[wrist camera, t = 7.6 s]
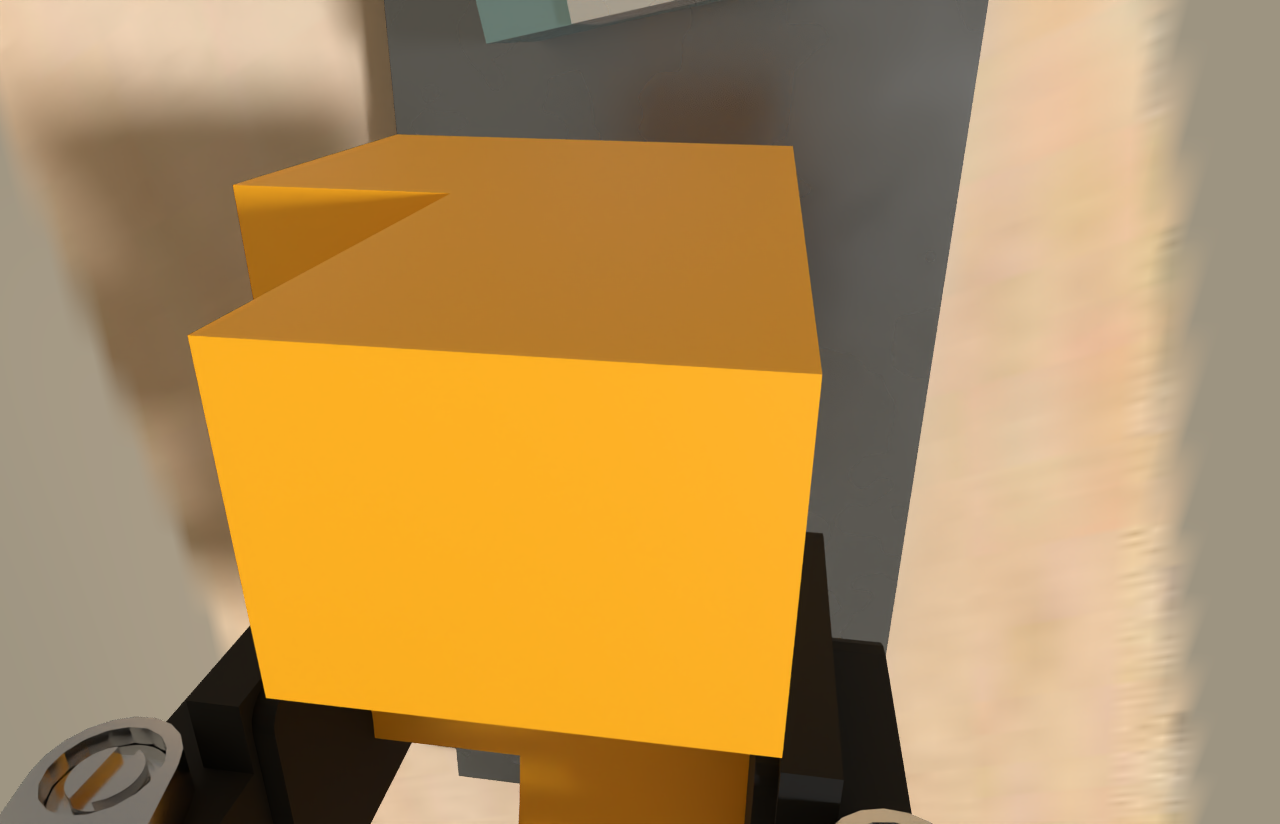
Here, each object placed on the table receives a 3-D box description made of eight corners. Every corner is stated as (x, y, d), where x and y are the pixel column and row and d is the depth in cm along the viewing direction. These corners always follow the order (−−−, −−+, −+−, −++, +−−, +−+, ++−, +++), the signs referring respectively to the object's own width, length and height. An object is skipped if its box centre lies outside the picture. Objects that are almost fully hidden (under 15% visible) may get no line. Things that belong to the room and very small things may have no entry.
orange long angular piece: (397, 134, 10) (-183, 311, 4) (792, 146, 9) (822, 374, 3) (472, 879, 15) (270, 1449, 9) (731, 915, 14) (700, 1548, 8)
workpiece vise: (855, 796, 24) (871, 953, 20) (470, 748, 25) (411, 886, 21) (1021, -296, 14) (1119, -427, 10) (380, -274, 16) (239, -383, 12)
